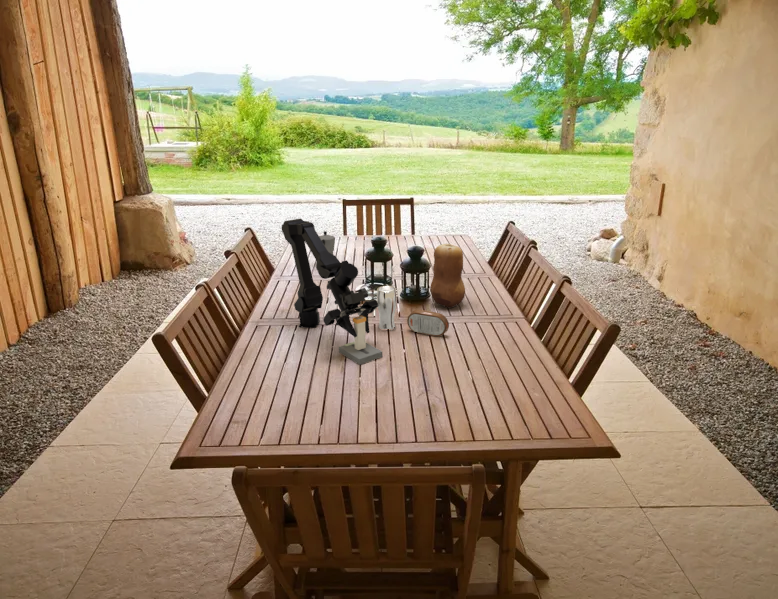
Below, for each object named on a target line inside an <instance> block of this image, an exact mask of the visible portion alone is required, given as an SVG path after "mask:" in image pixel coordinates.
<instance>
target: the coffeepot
mask: <svg viewBox="0 0 778 599" xmlns="http://www.w3.org/2000/svg"><path fill="white" fill-rule="evenodd" d="M327 232H328V231H323V234H322V235H318V236H319V237H320V239H321V241H322V242H323V244H324V246H325V247H326V249H327V250H328V252H329V253H331V254H333V255H334V256H335V254H334V251H335V245H336V237H335V236H334V235H329V234H328V233H327Z"/></svg>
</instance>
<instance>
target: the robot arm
mask: <svg viewBox="0 0 778 599" xmlns="http://www.w3.org/2000/svg"><path fill="white" fill-rule="evenodd" d="M281 232H282V234H283V236H284V239H285V240H286V242H287V243H288V244H290V247H291V250H292V255H293V259H294V264H295V267H296V272H297V276H298V277H297V278H298V282H299V287H298V290H297V299H296V301H295V302H294V309H295V311H296V312H298V313H299V325H298V328H308V329H316V328H317V327H318V325H319V324H320V322H321V321H320V320H321V319H320V318H321V317H320V311H319V309H322V307H323V300H324V296H323V293H322V291H321V290H322V289H321V286H320V285H317V284H316V283H315V282H314V278H313V274H312V269H311V265H310V261H309V256H308V252H307V247H308V248H309V251H310V252H311V254H312V255H313V257H314V259H315V261H316V262H315V263H316V265H315V268H316V270H317V273H318V275H319V277H320V278H321V279H324V280H326V279H330V280H327V284H326V289H327V290H330V292H331V293H332V296H333V297H334V300H335V301H334V304H335V305H337V307H338V308H335V309H332V310H328V311H327V312H326V314H325V316H324V317H323V323H324V325H325V327H327V326H330V325H333V324H334V323H335V326H339V327H340V328H341V329H344V330H345V331H346V332H347V333H348V334H350V335H351V336H353V337H357V334H356V332H355V330H354V325H353V324H352V322H351V319H350V316H352V315H355V314H357V315H358V316H364V317H366V321H365V333H366V334H369V333H370V323H369V315H370V314H372V313H374V311H376V309H378V306H379V304H378V302H377V299H374V298H372V299H369V300H366V299H367V298H369V292H368V291H367V288H365V287H363V288H359V289H358V292H355V291H354V290H351V289H350V287H349V286H351V285H352V283H353V282H354V280H356V278H357V276H358V275H359V269H358V268H357V267H356V266H355V265H354V264H352V263H349V261H348V260H343V261H341V262H340V260H339V258H337V256H336V255H335V254H334V253H333V254H334V255H333V254H331V253H329V252H328V250H327V249H326V247H325V246H324V244H323V242H322V241H321V239H320V237H319V236H320V235H319V234H318V233H317V231H316V229H315V224H314V223H313V222H312V221H311V222H310V221H308V220H307V221H306V220H303V219H302V218H294V219H288V220H284V221H283V223H282V225H281ZM306 245H307V247H306ZM361 302H363V303H362V304H361Z"/></svg>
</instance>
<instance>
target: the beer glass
mask: <svg viewBox="0 0 778 599" xmlns="http://www.w3.org/2000/svg"><path fill="white" fill-rule="evenodd" d="M396 289H397V288H396V287H394V286H391V285H382V286H379V287H377V290H376V301H377V302H378V304H379V306H378V307H377V311H378V316H379V323H378V329H379V328H381V329H393V328H394V327H395V328H396V323H395V313H396V306H397V292H396V291H397V290H396Z"/></svg>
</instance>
